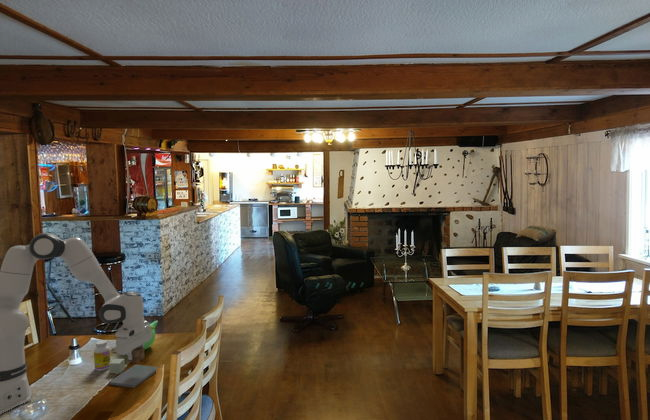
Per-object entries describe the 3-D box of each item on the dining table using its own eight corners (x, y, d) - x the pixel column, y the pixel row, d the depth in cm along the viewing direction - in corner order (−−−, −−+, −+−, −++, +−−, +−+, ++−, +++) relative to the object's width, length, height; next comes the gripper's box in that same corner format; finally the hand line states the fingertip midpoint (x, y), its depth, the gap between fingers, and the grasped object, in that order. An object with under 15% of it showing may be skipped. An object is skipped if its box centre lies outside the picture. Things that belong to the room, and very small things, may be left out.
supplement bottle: (104, 371, 207) (102, 345, 206) (91, 370, 209) (90, 344, 207) (113, 365, 214) (112, 339, 213) (101, 364, 215) (100, 339, 214)
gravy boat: (125, 344, 240) (124, 318, 238) (159, 340, 245) (157, 315, 243) (121, 358, 222) (119, 329, 221) (157, 353, 228) (155, 325, 226)
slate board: (133, 387, 192) (133, 385, 192) (108, 384, 195) (108, 381, 195) (159, 369, 209) (159, 367, 209) (135, 366, 212) (135, 364, 212)
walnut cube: (137, 362, 200) (136, 352, 199) (127, 361, 201) (127, 350, 200) (144, 358, 204) (143, 347, 204) (135, 356, 206) (134, 346, 205)
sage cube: (120, 373, 205) (119, 363, 205) (109, 373, 205) (108, 363, 205) (124, 369, 210) (124, 358, 210) (114, 369, 210) (113, 358, 210)
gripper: (142, 318, 212) (144, 346, 213) (112, 334, 192) (114, 365, 194) (154, 319, 210) (155, 348, 212) (124, 335, 191) (126, 366, 192)
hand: (135, 356), depth 202 cm, fingers closed on walnut cube, 5 cm apart
